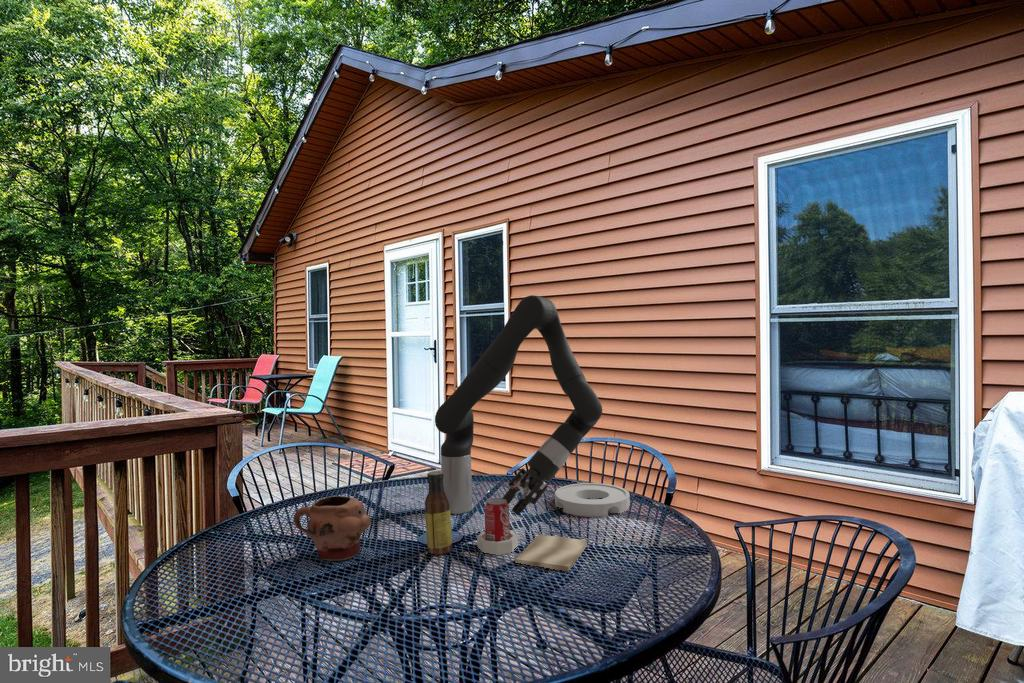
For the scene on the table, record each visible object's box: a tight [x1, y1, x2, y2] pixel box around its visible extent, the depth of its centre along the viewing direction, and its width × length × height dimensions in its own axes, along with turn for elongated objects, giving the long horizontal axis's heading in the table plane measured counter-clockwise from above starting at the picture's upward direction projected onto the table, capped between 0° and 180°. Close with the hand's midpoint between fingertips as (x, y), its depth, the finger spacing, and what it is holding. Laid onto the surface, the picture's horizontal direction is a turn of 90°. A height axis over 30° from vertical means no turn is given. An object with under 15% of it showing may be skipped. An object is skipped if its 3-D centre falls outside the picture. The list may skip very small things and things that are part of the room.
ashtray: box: [554, 482, 631, 518], centre depth 180 cm, size 23×23×4 cm
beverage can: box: [484, 497, 511, 542], centre depth 146 cm, size 6×6×12 cm
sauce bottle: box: [424, 470, 453, 556], centre depth 144 cm, size 6×6×20 cm
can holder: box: [476, 530, 519, 556], centre depth 146 cm, size 10×10×3 cm
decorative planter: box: [292, 495, 372, 562], centre depth 143 cm, size 20×12×14 cm, turn 88°
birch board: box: [514, 534, 588, 572], centre depth 141 cm, size 13×17×1 cm
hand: (509, 508), depth 147 cm, fingers open, 8 cm apart
